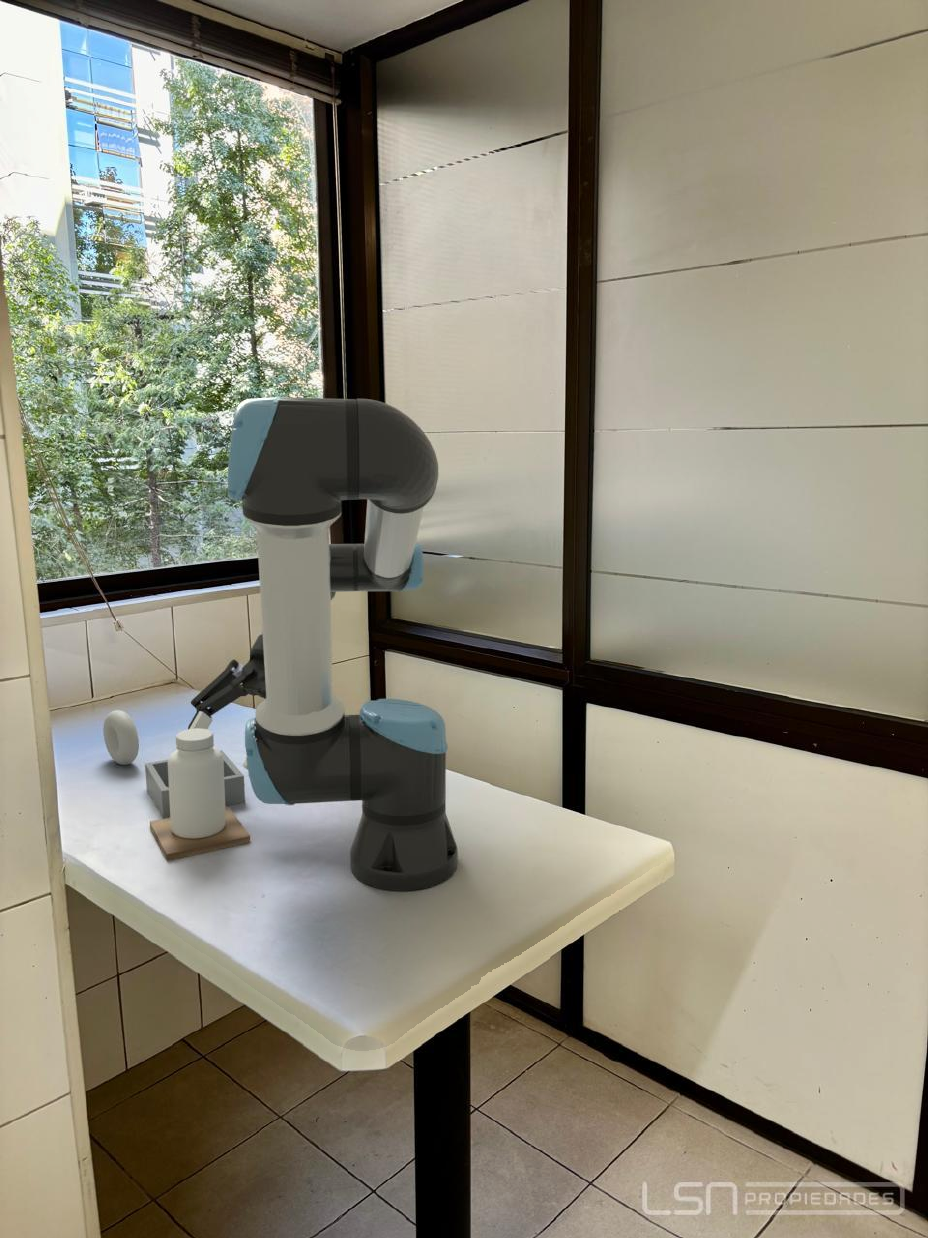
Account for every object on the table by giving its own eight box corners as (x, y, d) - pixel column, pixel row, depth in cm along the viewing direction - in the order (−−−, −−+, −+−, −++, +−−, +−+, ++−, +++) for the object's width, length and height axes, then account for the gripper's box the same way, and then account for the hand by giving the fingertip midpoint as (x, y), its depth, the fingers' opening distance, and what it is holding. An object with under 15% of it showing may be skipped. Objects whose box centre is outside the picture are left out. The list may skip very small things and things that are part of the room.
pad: (250, 842, 134) (250, 836, 134) (167, 860, 128) (166, 854, 128) (228, 811, 144) (227, 805, 144) (150, 827, 139) (149, 821, 138)
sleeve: (245, 801, 148) (243, 775, 147) (163, 818, 142) (161, 791, 141) (223, 774, 159) (222, 750, 158) (146, 788, 153) (144, 763, 152)
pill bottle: (218, 841, 132) (213, 744, 129) (163, 839, 133) (157, 742, 129) (232, 817, 140) (228, 725, 137) (181, 816, 140) (175, 724, 137)
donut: (102, 758, 166) (98, 706, 164) (120, 753, 168) (116, 702, 166) (125, 774, 159) (121, 720, 157) (144, 769, 161) (140, 715, 159)
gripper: (352, 668, 144) (290, 789, 135) (238, 645, 156) (175, 754, 147) (329, 642, 138) (264, 767, 129) (213, 621, 151) (146, 733, 142)
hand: (216, 761), depth 138 cm, fingers open, 13 cm apart
